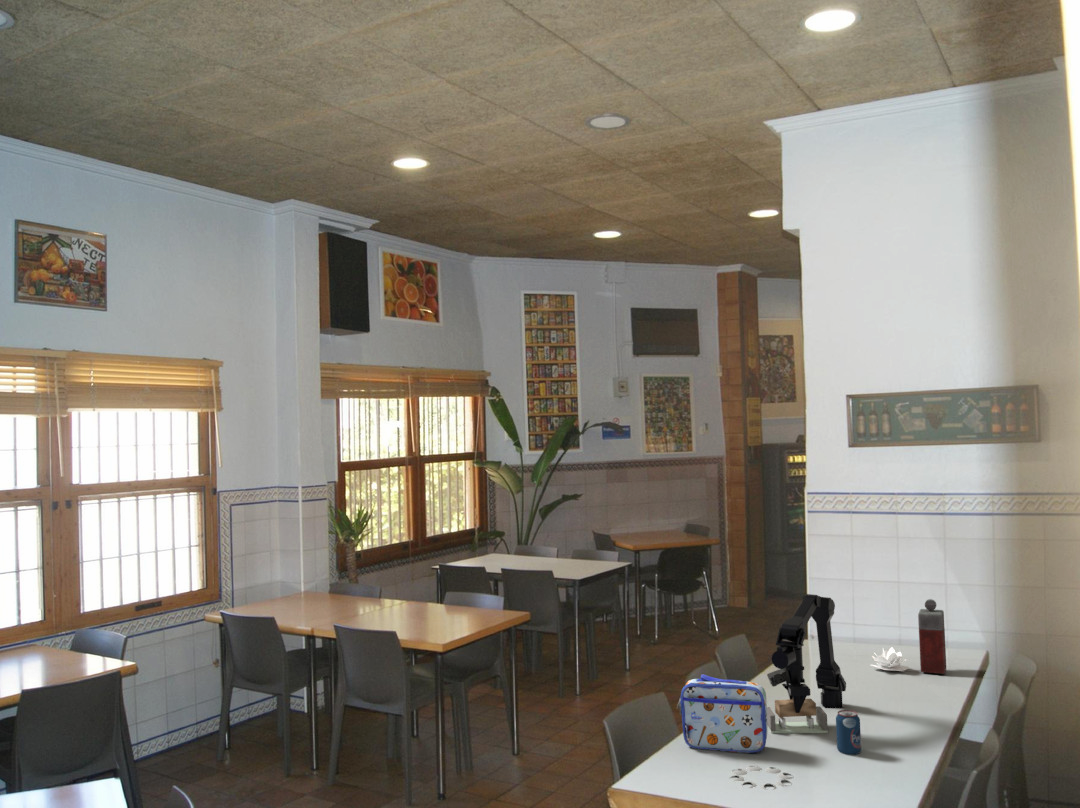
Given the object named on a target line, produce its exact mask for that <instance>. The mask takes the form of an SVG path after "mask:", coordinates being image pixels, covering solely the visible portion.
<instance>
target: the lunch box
mask: <svg viewBox="0 0 1080 808" xmlns="http://www.w3.org/2000/svg"><path fill="white" fill-rule="evenodd" d="M680 692H681V693H680V697H679V699H678V700H679V701H678V703H677V706H676V709H677V710H678V709H679V715H681V723H682V735H683V739H684V742H685V744H686V745H687V747H690V748H692V749H695V748H697V749H696V750H699V749H700V750H706V749H709V751H716V750H720V751H719V752H725V751H730V752H729V753H742V754H743V753H748V754H752V753H760V752H761V751H763V750H764V749H765V747H766V744H767V738H768V727H767V726H768V720H767V707H768V705H767V703H768V702H767V692H766V690H765V688H764V686H762V684H759V683H757V682H751V681H747V680H745V681H744V680H737V679H723V678H716V677H713V676H710V675H707V674H703V673H702V674H701V675H700V678H693V679H689V680H688V681H687V682H686V683H685V685H684V686H683V688H682V689H681V691H680Z"/></svg>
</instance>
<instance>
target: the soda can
mask: <svg viewBox="0 0 1080 808" xmlns="http://www.w3.org/2000/svg"><path fill="white" fill-rule="evenodd" d="M835 730H836V748H837V751H838V752H839V753H841V754H842V755H849V756H850V755H851V756H853V755H854V756H855V755H860V753H861V751H862V738H861V737H862V736H861V735H862V734H861V733H862V732H861V720H860V716H859V714H858V712H857V711H854V710H851V709H841V710H838V711H837V714H836V717H835Z"/></svg>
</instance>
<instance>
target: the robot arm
mask: <svg viewBox="0 0 1080 808" xmlns="http://www.w3.org/2000/svg"><path fill="white" fill-rule="evenodd" d="M835 608H836V603H835V601H834V600H833V599H832V598H831V597H828V596H827V597H825V596H820V595H818V594H810V593H806V594H804V595H803V598H802V600H801V603H800V604H799V605H798V607H797V609H796V611H795V612H794V614H793V615H792V616H791V617H790V618H787V619H785V620H784V621H783V623H781V625H780V627H779V630H778V633H777V638H776V641H775V646H777V647H776V650H775V651H774V652H773V653H772V655H771V662H772V664H773V666H774V667H775V668H777V670H774V671H772V672H769V673H767V674H766V675H767V679H768V681H769V684H770V685H771V687H773V688H774V687H776V686H778V685H780V684H781V685H782V686H783V688H784V689H785V690H786V691H787V694H788V697H789V700H790V699H793V702H794V707H795V712H796V713H799V712H800V710H801V707H802V705H803V703H804V701H805V699H807V697H809V696H811V689H810V687H809V686H808V685H807V684H806V679H805V678H804V671H805V666H804V663H803V661H804V660H803V647H804V642H805V641H804V640H805V638H806V634H807V631H806V626H807V624H808V623H809V621H810V619H811V618H812V620H813V621H814V622H815V625H816V633H817V635H816V636H817V643H818V644H817V645H818V651H819V653H818V654H819V661H820V662H819V664H818V666H817V668H816V669H815V681H816V685H817V689H820V690H821V691H820V704H821V705H822V707H824V709H845V707H844V705H843V692H846V690H847V681H846V679H845V678H844V676H843V674H842V672H841V667H840V666H839V665H838V663H837V662H836V660H835V654H834V653H835V652H834V644H833V636H832V634H833V633H832V626H831V620H832V618H833V617H834V615H835Z"/></svg>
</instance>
